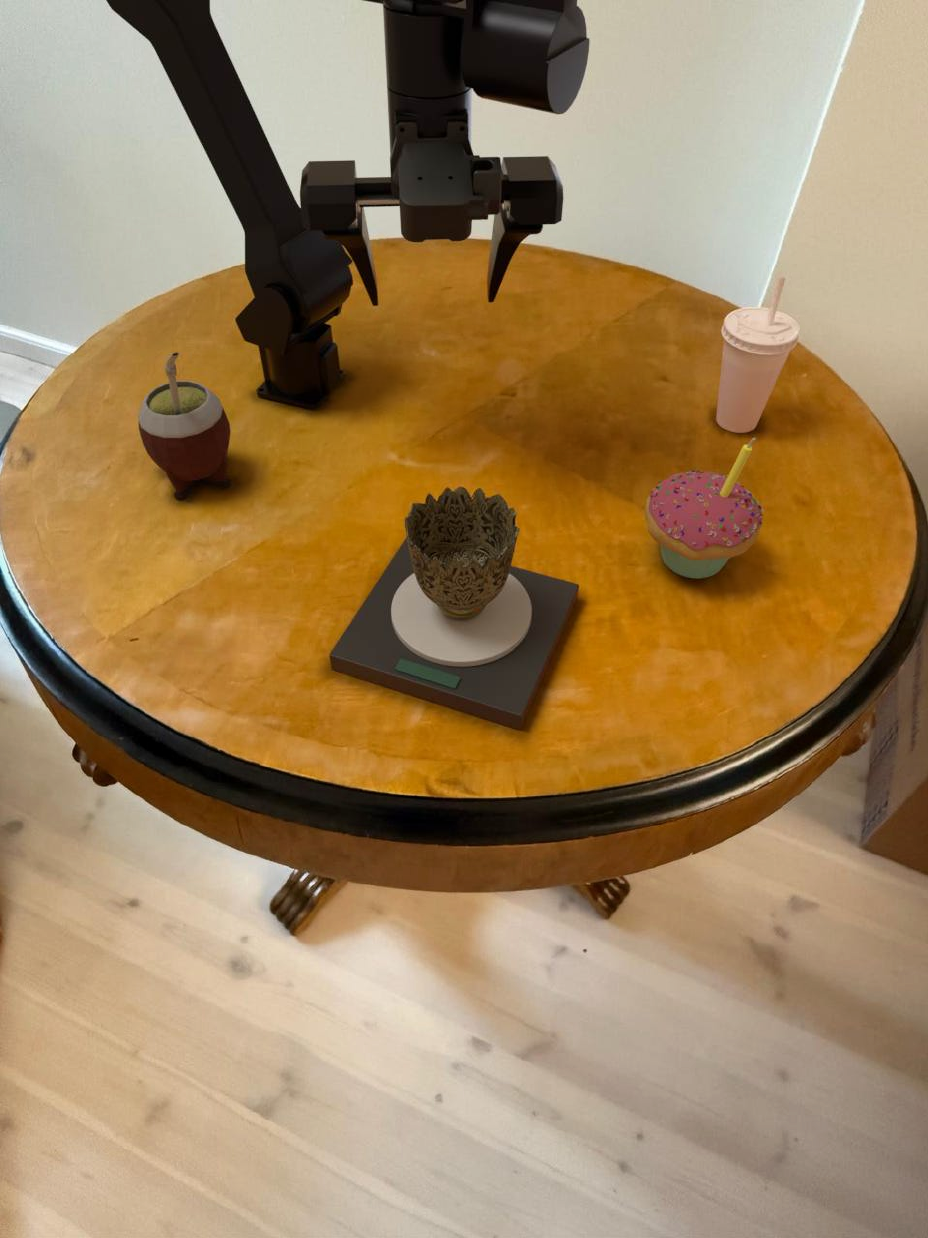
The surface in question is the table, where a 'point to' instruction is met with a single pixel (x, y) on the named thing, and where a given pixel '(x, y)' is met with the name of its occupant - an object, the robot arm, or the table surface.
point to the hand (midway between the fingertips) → (433, 301)
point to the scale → (458, 642)
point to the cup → (461, 549)
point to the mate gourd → (186, 433)
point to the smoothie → (752, 361)
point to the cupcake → (703, 519)
